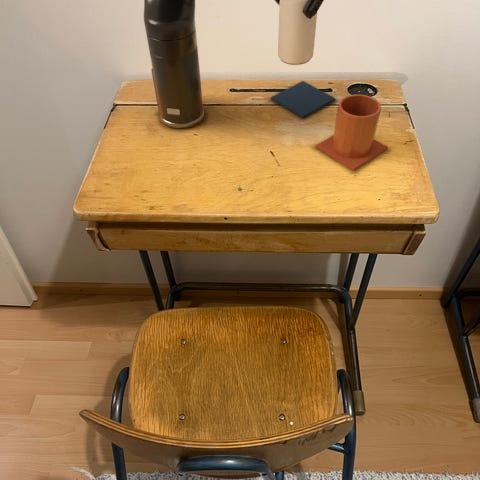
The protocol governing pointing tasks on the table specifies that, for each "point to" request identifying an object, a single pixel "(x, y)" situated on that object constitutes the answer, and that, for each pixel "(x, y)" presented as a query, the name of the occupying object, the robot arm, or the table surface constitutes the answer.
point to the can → (295, 33)
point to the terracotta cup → (355, 125)
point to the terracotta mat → (351, 162)
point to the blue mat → (303, 99)
